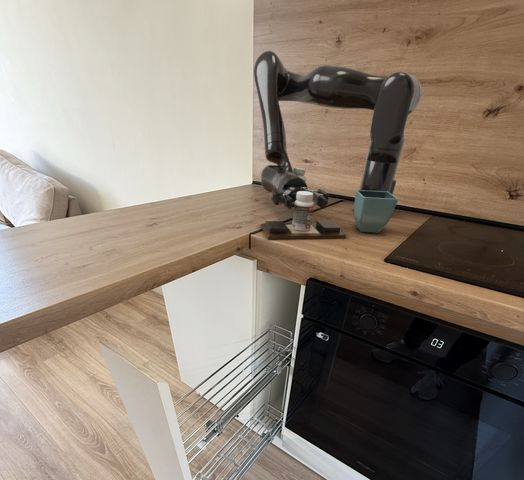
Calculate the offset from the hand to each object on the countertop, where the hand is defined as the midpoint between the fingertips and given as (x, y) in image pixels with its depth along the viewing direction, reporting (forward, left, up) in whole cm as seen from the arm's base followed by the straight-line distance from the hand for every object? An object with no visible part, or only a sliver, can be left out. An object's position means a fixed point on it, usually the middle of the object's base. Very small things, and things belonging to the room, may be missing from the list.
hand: (307, 204), depth 73 cm
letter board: (0, -2, -7) cm, 7 cm away
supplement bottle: (-7, -35, -7) cm, 36 cm away
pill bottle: (0, -2, -6) cm, 7 cm away
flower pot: (-19, -3, -7) cm, 21 cm away
